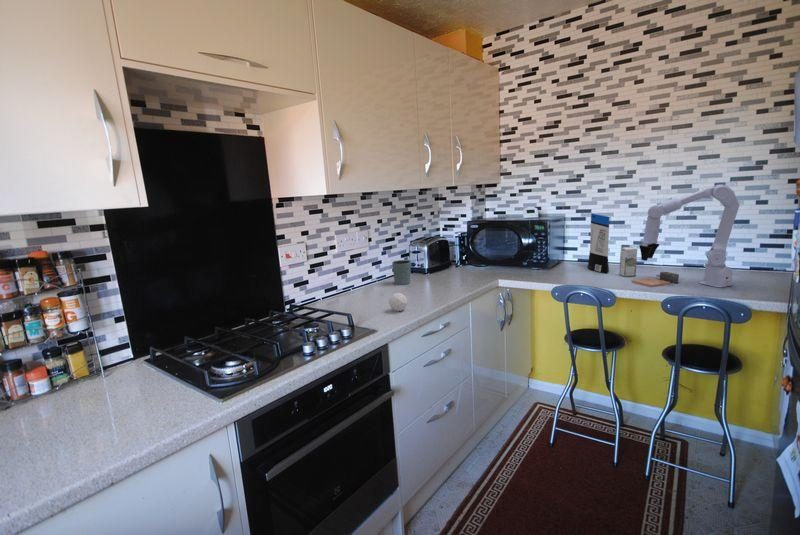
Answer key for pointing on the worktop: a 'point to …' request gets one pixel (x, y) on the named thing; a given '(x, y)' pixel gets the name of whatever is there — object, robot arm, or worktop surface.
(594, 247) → the protein powder
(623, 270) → the syrup box
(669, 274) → the charger plug
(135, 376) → the worktop surface
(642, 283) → the terracotta trivet
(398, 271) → the green cup
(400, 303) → the ball
